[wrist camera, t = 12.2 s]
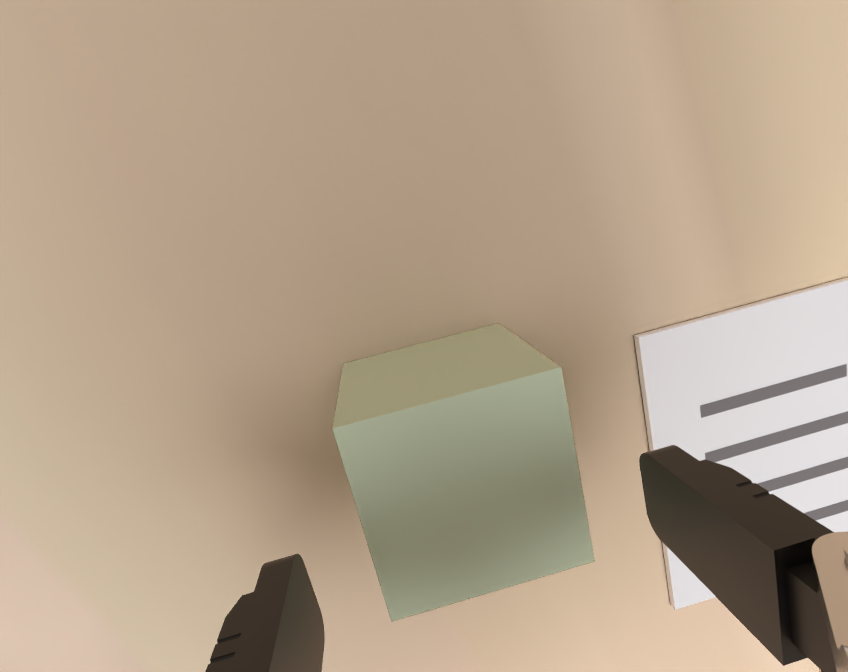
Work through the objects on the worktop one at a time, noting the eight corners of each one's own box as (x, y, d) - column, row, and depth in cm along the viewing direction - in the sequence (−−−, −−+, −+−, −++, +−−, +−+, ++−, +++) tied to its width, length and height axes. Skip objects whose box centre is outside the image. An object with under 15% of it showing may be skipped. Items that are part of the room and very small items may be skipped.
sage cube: (343, 362, 16) (332, 428, 11) (497, 322, 16) (561, 367, 11) (383, 501, 17) (391, 622, 12) (525, 461, 18) (594, 561, 12)
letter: (634, 335, 17) (638, 337, 17) (957, 247, 18) (967, 247, 18) (670, 604, 20) (675, 610, 20) (947, 517, 21) (956, 522, 20)
